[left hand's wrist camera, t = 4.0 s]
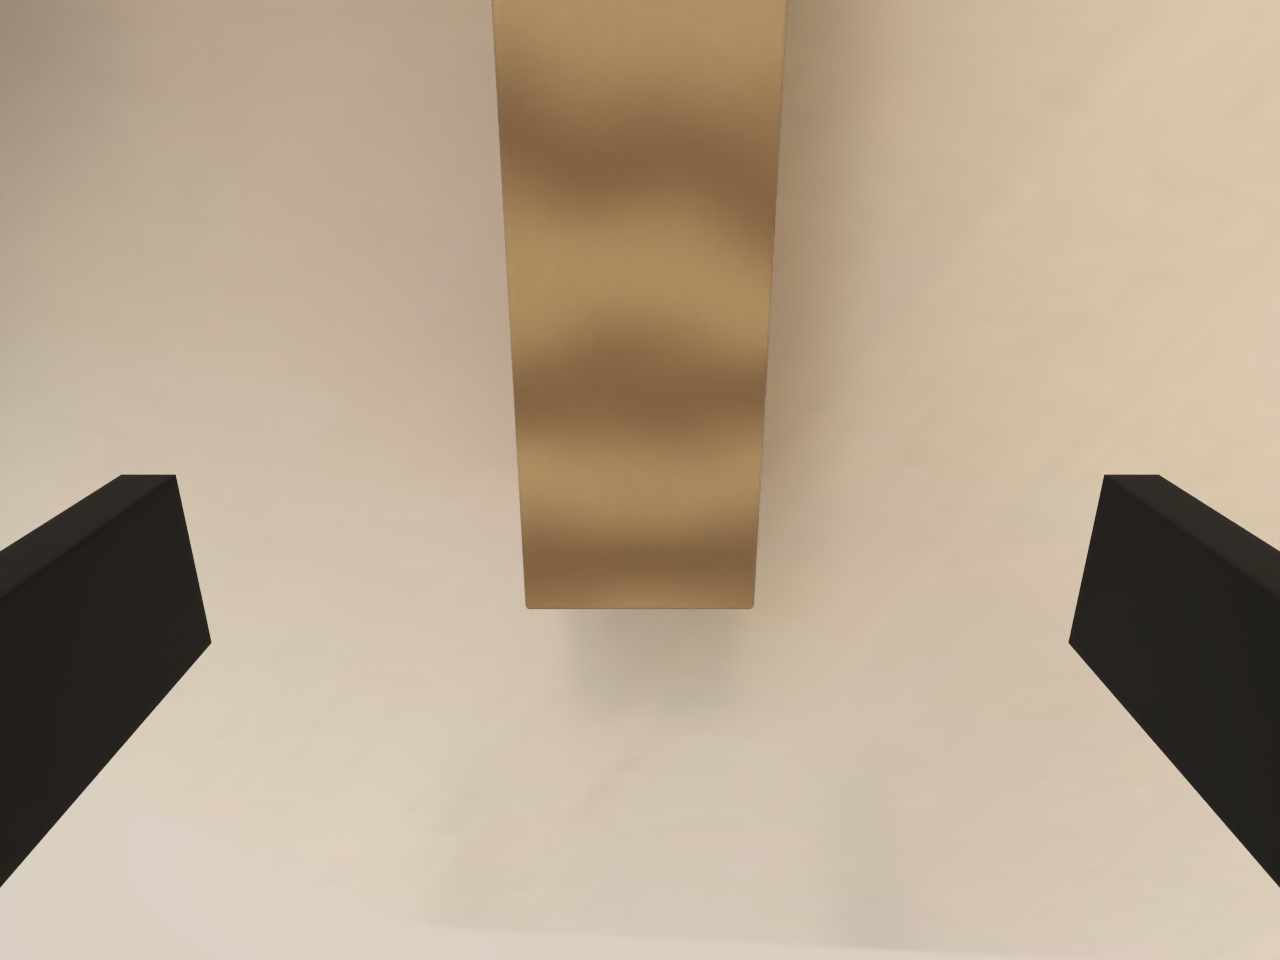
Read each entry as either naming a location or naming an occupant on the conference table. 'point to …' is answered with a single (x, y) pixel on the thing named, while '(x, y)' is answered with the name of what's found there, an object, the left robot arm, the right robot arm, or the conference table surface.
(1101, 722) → the conference table surface
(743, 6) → the beam
